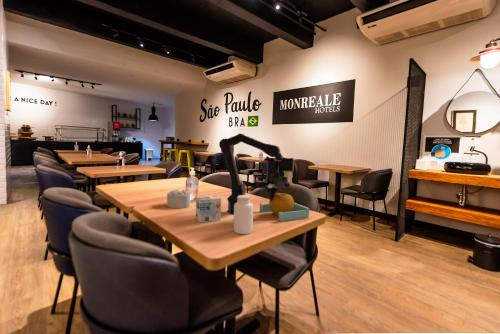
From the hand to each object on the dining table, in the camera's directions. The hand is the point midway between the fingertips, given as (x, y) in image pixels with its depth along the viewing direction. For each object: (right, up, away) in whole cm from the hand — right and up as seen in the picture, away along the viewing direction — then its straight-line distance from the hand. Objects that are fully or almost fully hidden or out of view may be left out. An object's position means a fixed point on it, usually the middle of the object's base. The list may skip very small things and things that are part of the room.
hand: (270, 200), depth 134 cm
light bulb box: (-31, -8, -9) cm, 33 cm away
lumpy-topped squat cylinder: (-51, -5, +15) cm, 53 cm away
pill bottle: (-14, -10, -23) cm, 29 cm away
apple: (+6, -8, +4) cm, 11 cm away
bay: (+7, -8, +5) cm, 12 cm away
